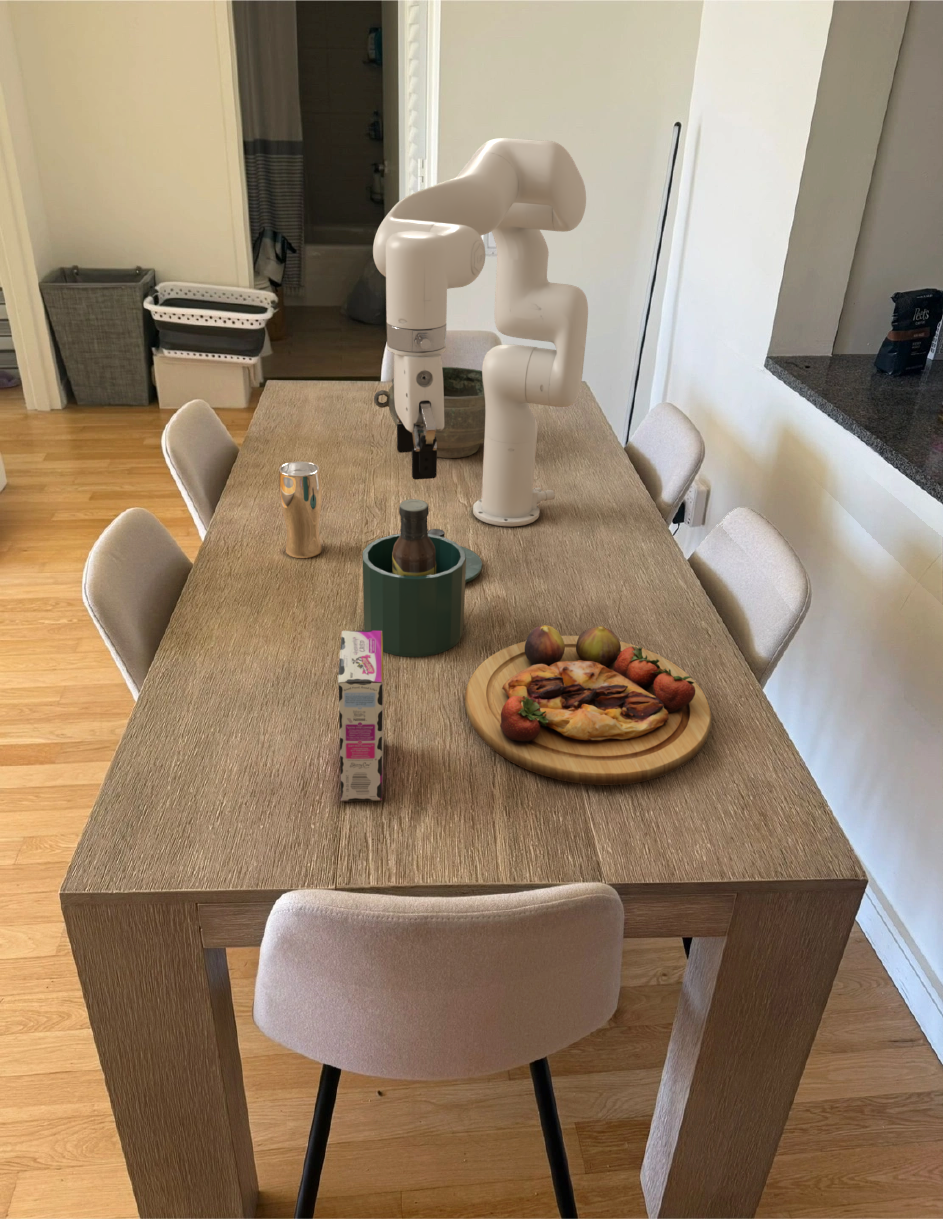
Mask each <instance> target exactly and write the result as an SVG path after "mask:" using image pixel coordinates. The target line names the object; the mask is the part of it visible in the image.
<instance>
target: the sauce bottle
mask: <svg viewBox="0 0 943 1219" xmlns="http://www.w3.org/2000/svg"><path fill="white" fill-rule="evenodd" d="M398 508H399V509H398V512H399V516H400V529H399V532H400V534H401V535H400V537H399V538H398V540H397V541H396V542H395V545H394V548H393V552H392V563H393V574H396V575H401V576H427V575H435V574H436V561H435V546H434V544H433V542H432V541H431V539H430V538H429V536H428V535H427V534H428V531H429V529H428V516H429V514H430V513H429V512H430V509H429V504H428V502H427V501H425V500H422V499H417V498H416V499H415V498H411V499H410V498H409V499H406V500H403V501H401V502H400V503H399V506H398Z"/></svg>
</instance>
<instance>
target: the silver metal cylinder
mask: <svg viewBox="0 0 943 1219" xmlns="http://www.w3.org/2000/svg"><path fill="white" fill-rule="evenodd" d="M278 495H279V496H278V497H279V502H280V507H281V513H282V515H283V518H284V520H283V521H284V523H285V528H286V542H285V553H286V554H287V555H288V556H290V557H292V558H296V559H309V558H310V559H311V558H314V557H316V556H318V555H319V554H321V552H322V551H323V550H322V549H323V548H322V543H321V538H320V534H319V526H320V517H321V510H322V501H323V489H322V478H321V472H320V466H319V465H318V464H316V463H314V462H310V461H304V460H303V461H302V460H301V461H299V460H298V461H297V460H296V461H289V462H285V463H284V464H282V465H279V468H278Z"/></svg>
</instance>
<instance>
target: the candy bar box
mask: <svg viewBox="0 0 943 1219" xmlns="http://www.w3.org/2000/svg"><path fill="white" fill-rule="evenodd" d="M340 637H341V638H340V647H339V648H340V649H339V659H338V660H339V662H338V676H337V678H338V679H337V684H338V714H339V715H338V724H339V726H338V727H339V756H340V757H339V763H340V764H339V767H340V768H339V769H340V772H339V773H340V801H341V802H380V801H382V799H383V782H384V747H385V746H384V745H385V744H384V740H385V738H384V736H385V735H384V734H385V726H384V725H385V710H384V709H385V688H384V687H385V679H384V678H385V677H384V652H383V640H382V631H364V630H342V631H341V635H340Z"/></svg>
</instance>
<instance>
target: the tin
mask: <svg viewBox="0 0 943 1219" xmlns="http://www.w3.org/2000/svg"><path fill="white" fill-rule="evenodd" d="M400 535H401V533H393V534H390V535H387V536H383V537H379V538H377V539H375V540H374V541H371V542H370V543H368V544H367V545H366V547H365V548H364V549H363V551H362V555H361V556H362V596H363V597H362V598H363V600H362V601H363V631H382V640H383V653H386V654H389V655H393V656H398V657H405V658H406V657H407V658H422V657H430V656H435V655H438V654H442V653H444V652H447V651H449V650H451V649H453V648H454V647H455V646H456V645H457V644H458V643H459V642H460V641H461V639H462V637H463V634H464V633H463V632H464V626H465V625H464V624H465V601H466V599H465V598H466V583H465V577H466V555H465V552H464V549H463V548H461V547H460V546H461V545H459V544H458V543H457V542H456V541H453V540H451V539H449V538H447V537H445V538H444V537H441V536H436V535H431V534H427V535H428V536H429V538H430V539H431V541H432V542H433V544H434V546H435V561H436V574H435V575H427V576H401V575H396V574H393V563H392V552H393V548H394V545H395V542H396V541H397V540H398V538H399V537H400Z"/></svg>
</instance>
